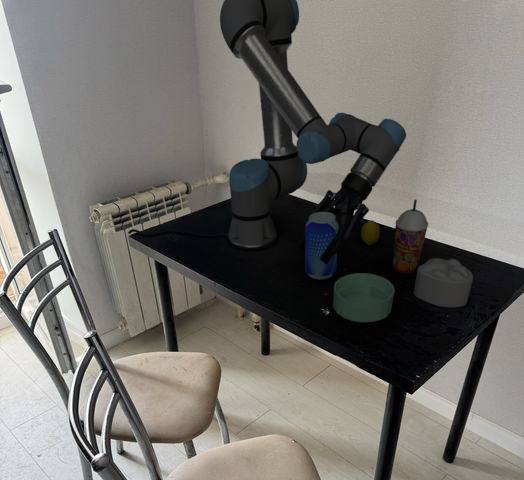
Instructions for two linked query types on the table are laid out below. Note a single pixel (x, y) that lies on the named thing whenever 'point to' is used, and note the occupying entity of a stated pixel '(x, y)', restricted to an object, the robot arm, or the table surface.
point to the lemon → (370, 232)
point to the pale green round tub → (363, 297)
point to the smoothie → (409, 240)
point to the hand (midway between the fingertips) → (311, 255)
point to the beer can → (320, 244)
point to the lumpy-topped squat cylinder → (443, 283)
